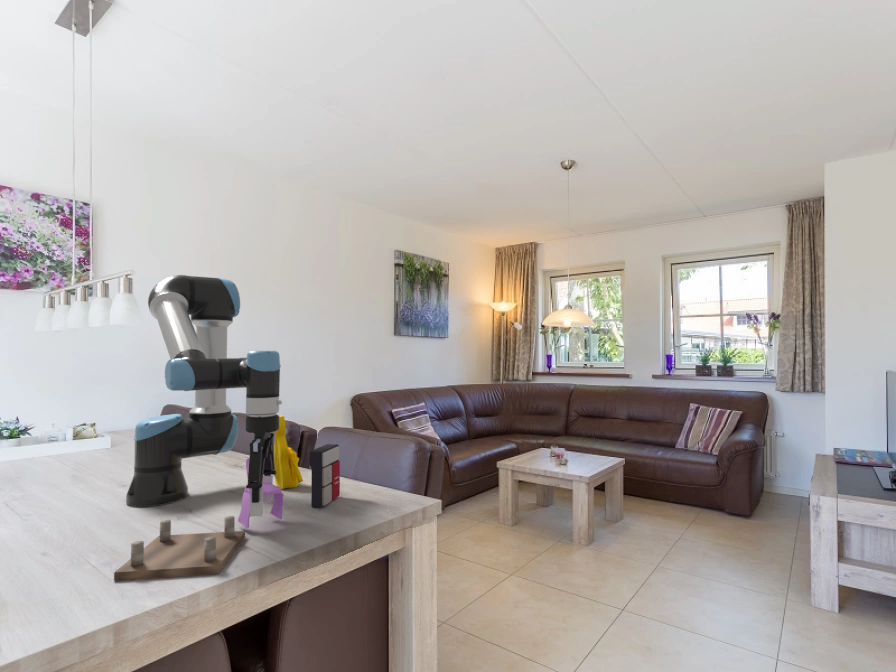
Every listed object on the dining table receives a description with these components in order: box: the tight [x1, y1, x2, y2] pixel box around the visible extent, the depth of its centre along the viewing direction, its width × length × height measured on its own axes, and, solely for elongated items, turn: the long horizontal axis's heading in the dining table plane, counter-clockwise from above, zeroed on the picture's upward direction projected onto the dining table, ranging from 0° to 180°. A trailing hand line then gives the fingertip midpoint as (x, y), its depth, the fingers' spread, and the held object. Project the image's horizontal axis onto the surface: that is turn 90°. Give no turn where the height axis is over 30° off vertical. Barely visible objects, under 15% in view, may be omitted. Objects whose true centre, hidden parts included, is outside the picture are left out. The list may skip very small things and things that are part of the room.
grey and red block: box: [309, 443, 341, 509], centre depth 134 cm, size 11×4×15 cm, turn 168°
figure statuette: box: [273, 415, 304, 490], centre depth 150 cm, size 18×8×22 cm, turn 37°
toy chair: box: [236, 457, 284, 529], centre depth 116 cm, size 8×9×15 cm
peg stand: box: [113, 515, 246, 581], centre depth 98 cm, size 18×18×6 cm
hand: (261, 508), depth 116 cm, fingers closed on toy chair, 9 cm apart
